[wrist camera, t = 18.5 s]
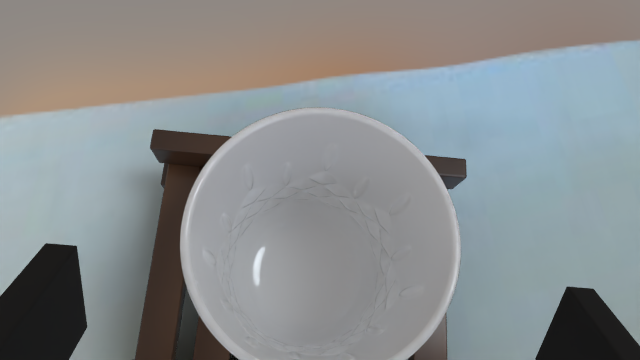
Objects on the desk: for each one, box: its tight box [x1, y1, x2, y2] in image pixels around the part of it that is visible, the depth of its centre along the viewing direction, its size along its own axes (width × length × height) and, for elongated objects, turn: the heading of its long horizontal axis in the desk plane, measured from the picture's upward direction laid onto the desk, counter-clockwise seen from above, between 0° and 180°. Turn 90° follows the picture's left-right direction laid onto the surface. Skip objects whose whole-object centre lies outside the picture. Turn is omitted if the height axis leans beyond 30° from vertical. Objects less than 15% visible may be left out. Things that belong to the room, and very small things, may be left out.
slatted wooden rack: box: [134, 129, 467, 360], centre depth 24 cm, size 15×12×5 cm
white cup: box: [180, 107, 461, 360], centre depth 18 cm, size 8×8×10 cm
